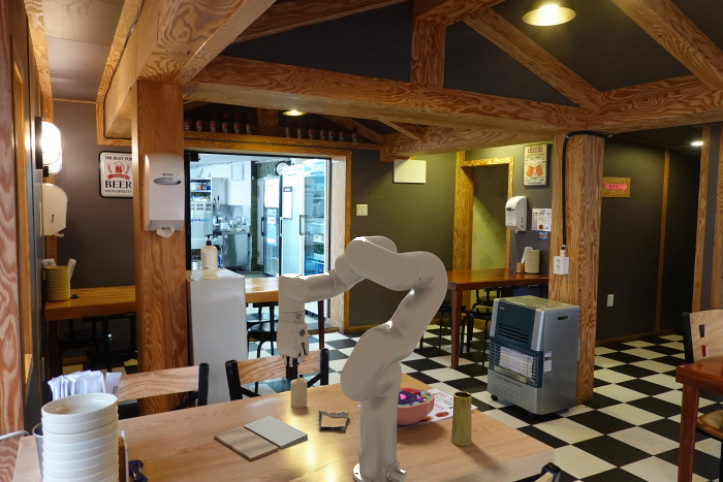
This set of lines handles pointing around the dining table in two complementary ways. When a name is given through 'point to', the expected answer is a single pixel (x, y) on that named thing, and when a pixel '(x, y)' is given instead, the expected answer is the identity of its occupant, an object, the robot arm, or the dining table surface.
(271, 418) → the grey flat slab
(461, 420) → the vase
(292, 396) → the beige bottle
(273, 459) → the dining table surface
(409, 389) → the cell model
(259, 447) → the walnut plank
